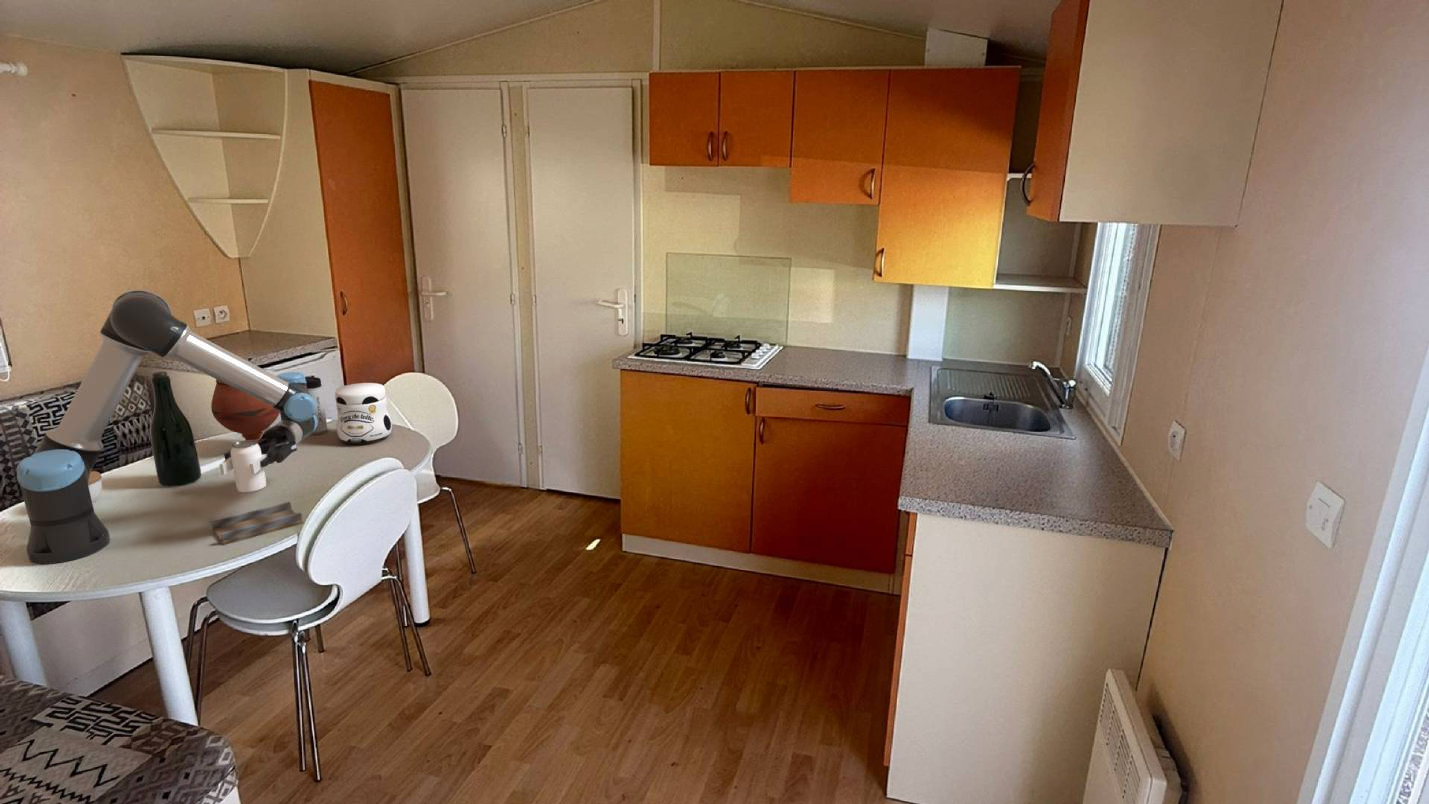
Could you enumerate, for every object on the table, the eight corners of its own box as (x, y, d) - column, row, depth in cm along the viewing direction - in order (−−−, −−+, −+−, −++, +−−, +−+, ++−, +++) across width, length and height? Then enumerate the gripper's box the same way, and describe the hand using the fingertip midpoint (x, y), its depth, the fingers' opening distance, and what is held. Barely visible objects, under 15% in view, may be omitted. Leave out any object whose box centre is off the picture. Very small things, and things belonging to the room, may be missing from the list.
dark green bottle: (200, 471, 228) (180, 366, 219) (203, 482, 220) (182, 373, 211) (158, 478, 222) (136, 370, 213) (159, 490, 214) (136, 378, 205)
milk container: (347, 451, 247) (340, 398, 242) (331, 437, 260) (325, 387, 254) (400, 440, 258) (395, 389, 253) (383, 427, 271) (377, 379, 266)
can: (253, 494, 187) (245, 449, 184) (230, 492, 188) (222, 447, 185) (272, 484, 193) (265, 440, 190) (251, 482, 194) (243, 438, 191)
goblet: (214, 448, 247) (201, 374, 240) (279, 436, 260) (268, 366, 253) (226, 464, 234) (212, 387, 227) (294, 451, 246) (283, 377, 239)
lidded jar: (102, 508, 202) (95, 475, 200) (51, 516, 197) (43, 483, 195) (109, 494, 211) (102, 462, 209) (60, 501, 206) (52, 469, 203)
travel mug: (308, 430, 266) (300, 375, 261) (329, 428, 268) (321, 374, 263) (305, 435, 261) (297, 380, 255) (326, 434, 263) (318, 379, 257)
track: (223, 544, 184) (222, 535, 183) (212, 530, 191) (211, 520, 190) (303, 523, 196) (301, 514, 195) (290, 510, 203) (288, 501, 203)
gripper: (319, 450, 208) (280, 482, 185) (246, 451, 206) (198, 484, 184) (316, 424, 205) (275, 454, 183) (242, 425, 204) (192, 455, 182)
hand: (237, 469), depth 184 cm, fingers closed on can, 6 cm apart
